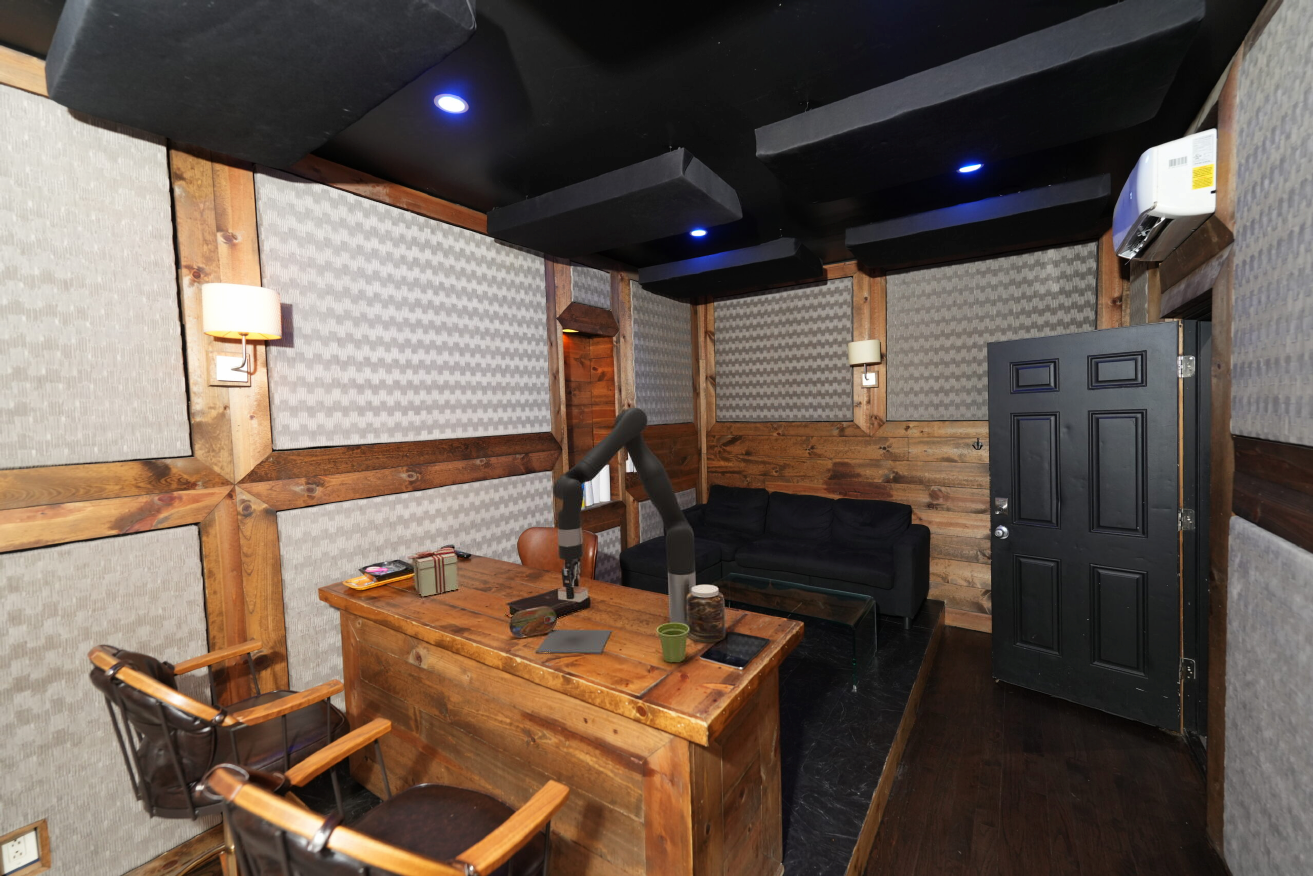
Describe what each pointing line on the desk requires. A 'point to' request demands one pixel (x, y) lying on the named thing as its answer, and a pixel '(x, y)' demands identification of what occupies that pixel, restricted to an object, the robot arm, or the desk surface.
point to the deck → (579, 594)
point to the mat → (575, 641)
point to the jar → (705, 614)
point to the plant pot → (673, 641)
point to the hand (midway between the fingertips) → (573, 595)
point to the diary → (548, 603)
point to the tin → (533, 621)
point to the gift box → (435, 571)
